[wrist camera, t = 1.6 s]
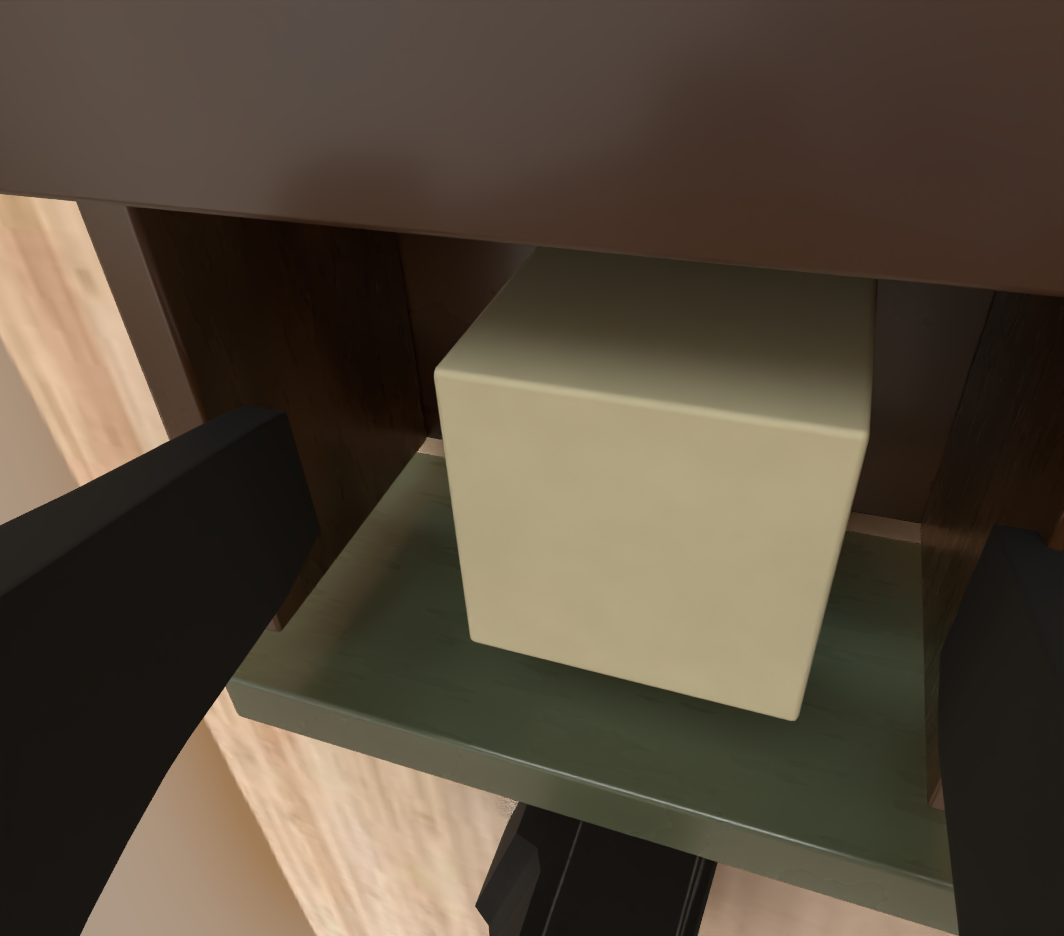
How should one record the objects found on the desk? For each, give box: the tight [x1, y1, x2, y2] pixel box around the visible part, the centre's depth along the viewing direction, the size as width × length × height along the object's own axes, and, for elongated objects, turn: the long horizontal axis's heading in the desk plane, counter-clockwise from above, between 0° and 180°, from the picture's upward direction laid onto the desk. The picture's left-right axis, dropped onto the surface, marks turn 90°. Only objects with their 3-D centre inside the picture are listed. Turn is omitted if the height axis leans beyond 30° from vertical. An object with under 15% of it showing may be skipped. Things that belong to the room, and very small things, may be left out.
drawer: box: [76, 201, 1064, 936], centre depth 13 cm, size 17×12×7 cm
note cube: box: [434, 246, 878, 721], centre depth 11 cm, size 4×4×6 cm
